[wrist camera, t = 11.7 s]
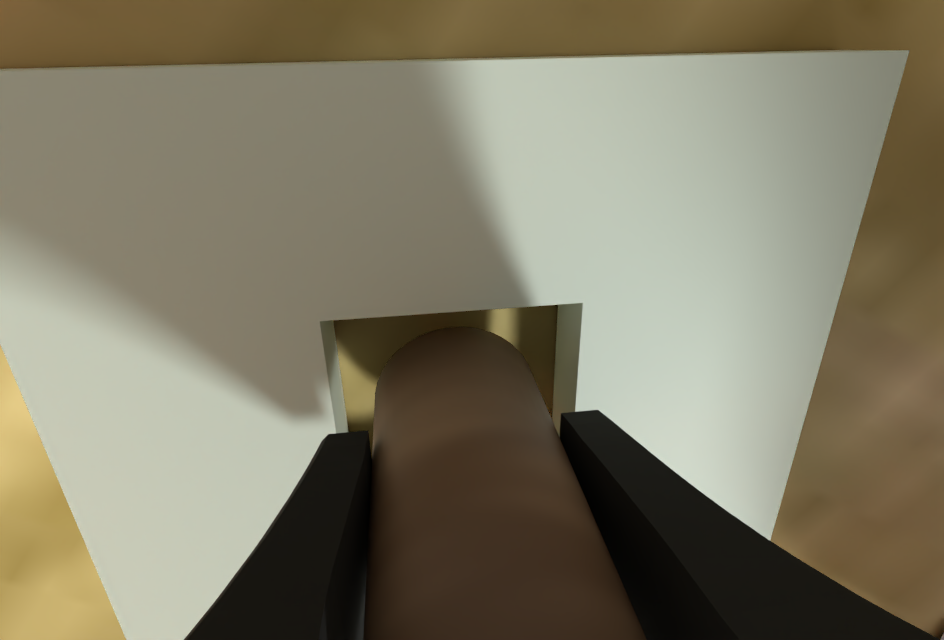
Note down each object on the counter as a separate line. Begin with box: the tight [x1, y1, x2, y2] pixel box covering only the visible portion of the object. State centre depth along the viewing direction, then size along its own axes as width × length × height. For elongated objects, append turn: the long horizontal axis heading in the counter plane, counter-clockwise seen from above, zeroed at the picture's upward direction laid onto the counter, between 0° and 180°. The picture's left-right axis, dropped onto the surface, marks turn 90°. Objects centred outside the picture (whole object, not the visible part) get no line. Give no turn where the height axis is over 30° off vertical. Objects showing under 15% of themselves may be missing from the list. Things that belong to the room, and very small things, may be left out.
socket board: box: [0, 50, 909, 640], centre depth 11 cm, size 14×12×2 cm
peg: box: [363, 327, 647, 640], centre depth 8 cm, size 3×3×6 cm
